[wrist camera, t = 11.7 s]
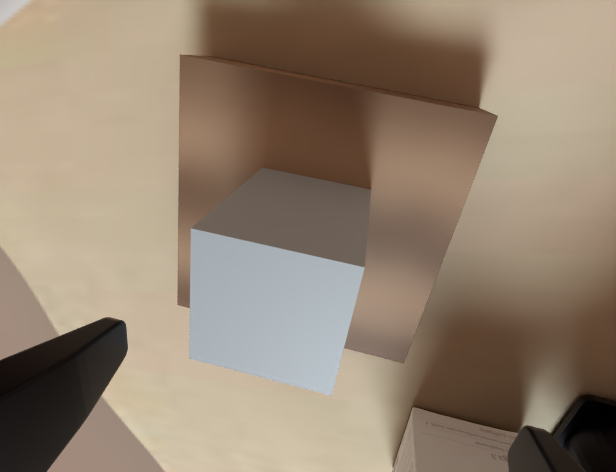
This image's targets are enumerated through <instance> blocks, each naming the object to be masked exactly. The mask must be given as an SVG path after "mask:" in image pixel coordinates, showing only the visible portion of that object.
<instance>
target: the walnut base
mask: <svg viewBox="0 0 616 472" xmlns="http://www.w3.org/2000/svg"><path fill="white" fill-rule="evenodd" d="M497 117H498V116H497V115H494V114H492V113H490V112H487V111H485V110H483V109H480V108H476V107H471V106H466V105H461V104H456V103H450V102H445V101H440V100H435V99H430V98H424V97H419V96H414V95H409V94H403V93H398V92H393V91H388V90H383V89H377V88H372V87H367V86H362V85H357V84H351V83H346V82H341V81H336V80H331V79H325V78H320V77H315V76H310V75H304V74H299V73H294V72H289V71H284V70H278V69H273V68H268V67H263V66H258V65H252V64H247V63H242V62H237V61H232V60H226V59H221V58H216V57H211V56H194V55H180V107H179V208H178V305H180V306H184V307H188V308H190V260H191V228H192V227H193V226H194V225H195V224H197V223H198V222H199V221H200V220H201V219H202V218H204V217H205V216H206V215H207V214H208V213H210V212H211V211H212V210H213V209H214V208H215V207H217V206H218V205H219V204H220V203H221V202H222V201H224V200H225V199H226V198H227V197H228V196H229V195H231V194H232V193H233V192H234V191H235V190H237V189H238V188H239V187H240V186H241V185H242V184H244V183H245V182H246V181H247V180H248V179H249V178H251V177H252V176H253V175H254V174H255V173H257V172H258V171H259V170H260V169H261V168H267V169H272V170H277V171H282V172H287V173H292V174H297V175H301V176H306V177H311V178H316V179H321V180H326V181H331V182H336V183H341V184H346V185H351V186H355V187H360V188H365V189H370V190H371V199H370V211H369V223H368V235H367V246H366V258H365V268H364V272H363V276H362V280H361V284H360V288H359V292H358V295H357V299H356V303H355V307H354V311H353V315H352V319H351V323H350V326H349V330H348V334H347V338H346V342H345V346H344V348H346V349H350V350H354V351H358V352H362V353H366V354H369V355H373V356H377V357H381V358H385V359H389V360H393V361H397V362H400V363H404V361H405V358H406V356H407V353H408V350H409V348H410V345H411V343H412V340H413V337H414V335H415V332H416V329H417V327H418V324H419V322H420V319H421V316H422V314H423V311H424V308H425V306H426V303H427V301H428V298H429V295H430V293H431V290H432V287H433V285H434V282H435V280H436V277H437V274H438V272H439V269H440V267H441V264H442V261H443V259H444V256H445V253H446V251H447V248H448V246H449V243H450V240H451V238H452V235H453V232H454V230H455V227H456V225H457V222H458V219H459V217H460V214H461V211H462V209H463V206H464V204H465V201H466V198H467V196H468V193H469V191H470V188H471V185H472V183H473V180H474V177H475V175H476V172H477V170H478V167H479V164H480V162H481V159H482V156H483V154H484V151H485V149H486V146H487V143H488V141H489V138H490V135H491V133H492V130H493V128H494V125H495V122H496V120H497Z"/></svg>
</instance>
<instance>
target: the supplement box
mask: <svg viewBox="0 0 616 472" xmlns="http://www.w3.org/2000/svg"><path fill="white" fill-rule="evenodd" d="M517 435H518V433H515V432H509V431H504V430H500V429H496V428H491V427H487V426H483V425H479V424H475V423H471V422H467V421H463V420H460V419H455V418H452V417H448V416H444V415H440V414H437V413H433V412H429V411H426V410H423V409H419V408H415V407H413V408H412V411H411V415H410V418H409V421H408V424H407V427H406V430H405V433H404V436H403V439H402V442H401V445H400V448H399V451H398V454H397V457H396V461H395V464H394V467H393V471H392V472H509V469H508V461H507V455H508V450H509V448H510V446H511V445H512V443H513V441H514V440H515V438H516V436H517Z"/></svg>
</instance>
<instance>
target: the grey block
mask: <svg viewBox="0 0 616 472" xmlns="http://www.w3.org/2000/svg"><path fill="white" fill-rule="evenodd" d="M370 199H371V190H370V189H365V188H360V187H355V186H351V185H346V184H341V183H336V182H331V181H326V180H321V179H316V178H311V177H306V176H301V175H297V174H292V173H287V172H282V171H277V170H272V169H267V168H261V169H260V170H259V171H258V172H257V173H255V174H254V175H253V176H252V177H251V178H249V179H248V180H247V181H246V182H245V183H244V184H242V185H241V186H240V187H239V188H238V189H237V190H235V191H234V192H233V193H232V194H231V195H229V196H228V197H227V198H226V199H225V200H224V201H222V202H221V203H220V204H219V205H218V206H217V207H215V208H214V209H213V210H212V211H211V212H210V213H208V214H207V215H206V216H205V217H204V218H202V219H201V220H200V221H199V222H198V223H197V224H195V225H194V226H193V227H192V228H191V260H190V339H189V359H193V360H197V361H201V362H204V363H208V364H212V365H216V366H220V367H224V368H227V369H231V370H235V371H239V372H243V373H247V374H250V375H254V376H258V377H262V378H266V379H270V380H273V381H277V382H281V383H285V384H289V385H293V386H296V387H300V388H304V389H308V390H312V391H316V392H319V393H323V394H327V395H331V396H332V392H333V388H334V385H335V381H336V377H337V373H338V369H339V365H340V361H341V357H342V354H343V350H344V346H345V342H346V338H347V334H348V330H349V326H350V323H351V319H352V315H353V311H354V307H355V303H356V299H357V295H358V292H359V288H360V284H361V280H362V276H363V272H364V268H365V258H366V246H367V235H368V223H369V211H370Z"/></svg>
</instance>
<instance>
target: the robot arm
mask: <svg viewBox="0 0 616 472" xmlns="http://www.w3.org/2000/svg"><path fill="white" fill-rule="evenodd" d="M127 350H128V343H127V331H126V324H125V322H124V321H122V320H118V319H115V318H111V317H106V318H103V319H100V320H98V321H95V322H93V323H90V324H88V325H86V326H83V327H81V328H78V329H76V330H73V331H71V332H68V333H66V334H63V335H61V336H58V337H56V338H54V339H51V340H49V341H46V342H44V343H41V344H39V345H36V346H34V347H31V348H29V349H27V350H24V351H21V352H19V353H17V354H14V355H12V356H9V357H7V358H4V359H2V360H0V472H47V470H48V469H49V468H50V467H51V465H52V464H53V463H54V461H55V460H56V459H57V457H58V456H59V455H60V453H61V452H62V451H63V449H64V448H65V447H66V445H67V444H68V443H69V442H70V440H71V439H72V437H73V436H74V435H75V434H76V432H77V431H78V429H79V428H80V427H81V426H82V424H83V423H84V421H85V420H86V418H87V417H88V416H89V414H90V412H91V411H92V409H93V408H94V406H95V405H96V403H97V402H98V400H99V398H100V397H101V395H102V394H103V392H104V390H105V389H106V387H107V386H108V384H109V382H110V381H111V379H112V377H113V376H114V374H115V373H116V371H117V369H118V368H119V366H120V365H121V363H122V361H123V360H124V358H125V356H126V354H127ZM507 461H508V469H509V472H616V401H612V400H608V399H604V398H600V397H596V396H592V395H585V396H582V397H581V398H580V399H579V400H578V401H577V403H576V404H575V405H574V407H573V408H572V410H571V411H570V412H569V414H568V415H567V417H566V418H565V420H564V421H563V422H562V424H561V425H560V427H559V428H558V429H557V431H556V432H555V434H554V435H553V436H552V435H551V434H550V433H549V432H548V431H546V430H544V429H540V428H536V427H532V426H529V425H526V426H524V427H522V429H521V430H520V432H519V433H518V435H517V436H516V438H515V440H514V441H513V443H512V445H511V446H510V448H509V450H508V455H507Z"/></svg>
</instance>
